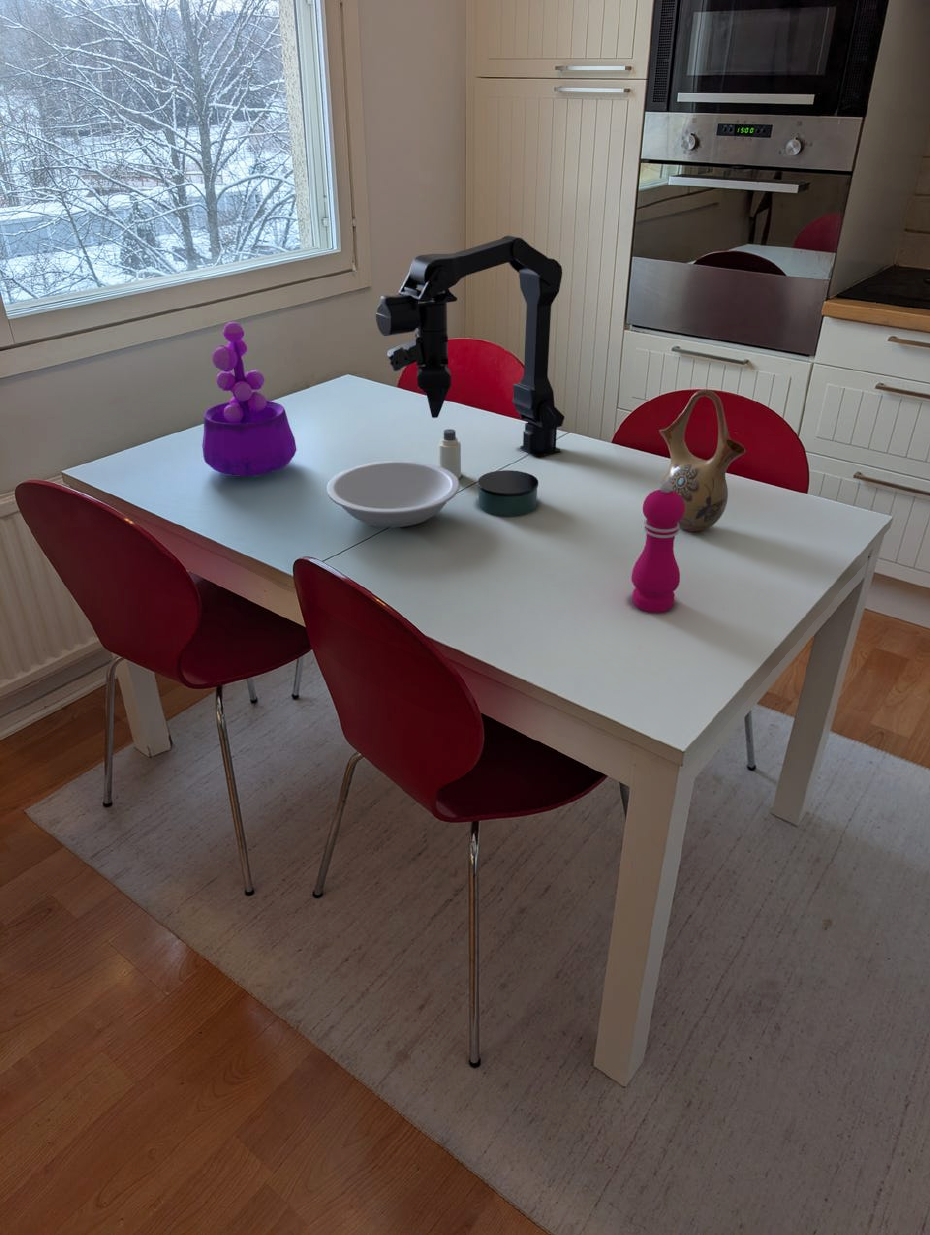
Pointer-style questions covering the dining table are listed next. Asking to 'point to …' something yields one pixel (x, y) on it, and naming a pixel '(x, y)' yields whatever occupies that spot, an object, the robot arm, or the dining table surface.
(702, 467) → the ceramic vessel
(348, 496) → the soup bowl
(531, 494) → the enamel tin
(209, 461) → the decorative plant
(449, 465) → the bottle
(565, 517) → the dining table surface
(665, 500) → the pepper mill
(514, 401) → the robot arm
